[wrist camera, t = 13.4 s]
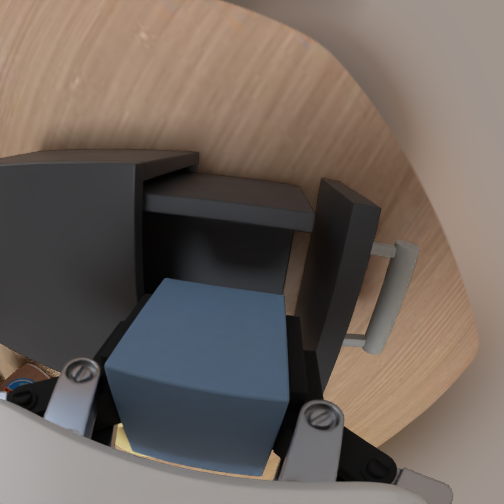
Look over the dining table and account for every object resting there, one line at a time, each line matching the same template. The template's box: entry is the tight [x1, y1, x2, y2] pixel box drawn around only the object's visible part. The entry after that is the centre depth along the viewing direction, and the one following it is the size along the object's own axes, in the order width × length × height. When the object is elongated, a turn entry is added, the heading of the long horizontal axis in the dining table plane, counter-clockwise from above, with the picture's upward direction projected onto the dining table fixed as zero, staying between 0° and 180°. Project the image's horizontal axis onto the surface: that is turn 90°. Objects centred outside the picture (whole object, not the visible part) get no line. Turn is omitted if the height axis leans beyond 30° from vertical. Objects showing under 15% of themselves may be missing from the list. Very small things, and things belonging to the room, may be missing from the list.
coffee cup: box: [0, 363, 50, 394], centre depth 24 cm, size 10×10×12 cm
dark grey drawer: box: [142, 172, 420, 392], centre depth 16 cm, size 18×11×8 cm, turn 83°
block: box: [104, 278, 289, 476], centre depth 9 cm, size 4×4×5 cm
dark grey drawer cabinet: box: [0, 149, 199, 373], centre depth 17 cm, size 15×13×10 cm
